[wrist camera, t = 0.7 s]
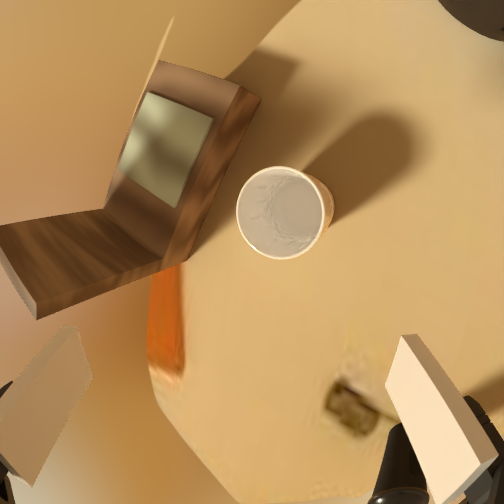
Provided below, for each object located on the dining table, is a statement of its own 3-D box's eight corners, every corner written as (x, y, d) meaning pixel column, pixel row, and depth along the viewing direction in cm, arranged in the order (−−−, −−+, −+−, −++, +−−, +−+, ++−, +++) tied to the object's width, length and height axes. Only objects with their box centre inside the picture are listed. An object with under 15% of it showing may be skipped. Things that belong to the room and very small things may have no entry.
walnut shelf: (185, 72, 37) (40, 20, 15) (261, 99, 33) (108, 16, 12) (128, 216, 45) (-10, 243, 24) (186, 260, 42) (36, 320, 21)
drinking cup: (373, 423, 36) (347, 539, 18) (423, 408, 32) (422, 529, 14) (385, 453, 36) (364, 559, 18) (432, 441, 32) (428, 550, 14)
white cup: (302, 158, 33) (272, 147, 24) (354, 204, 32) (345, 210, 23) (260, 209, 36) (220, 216, 27) (309, 254, 35) (283, 277, 26)
